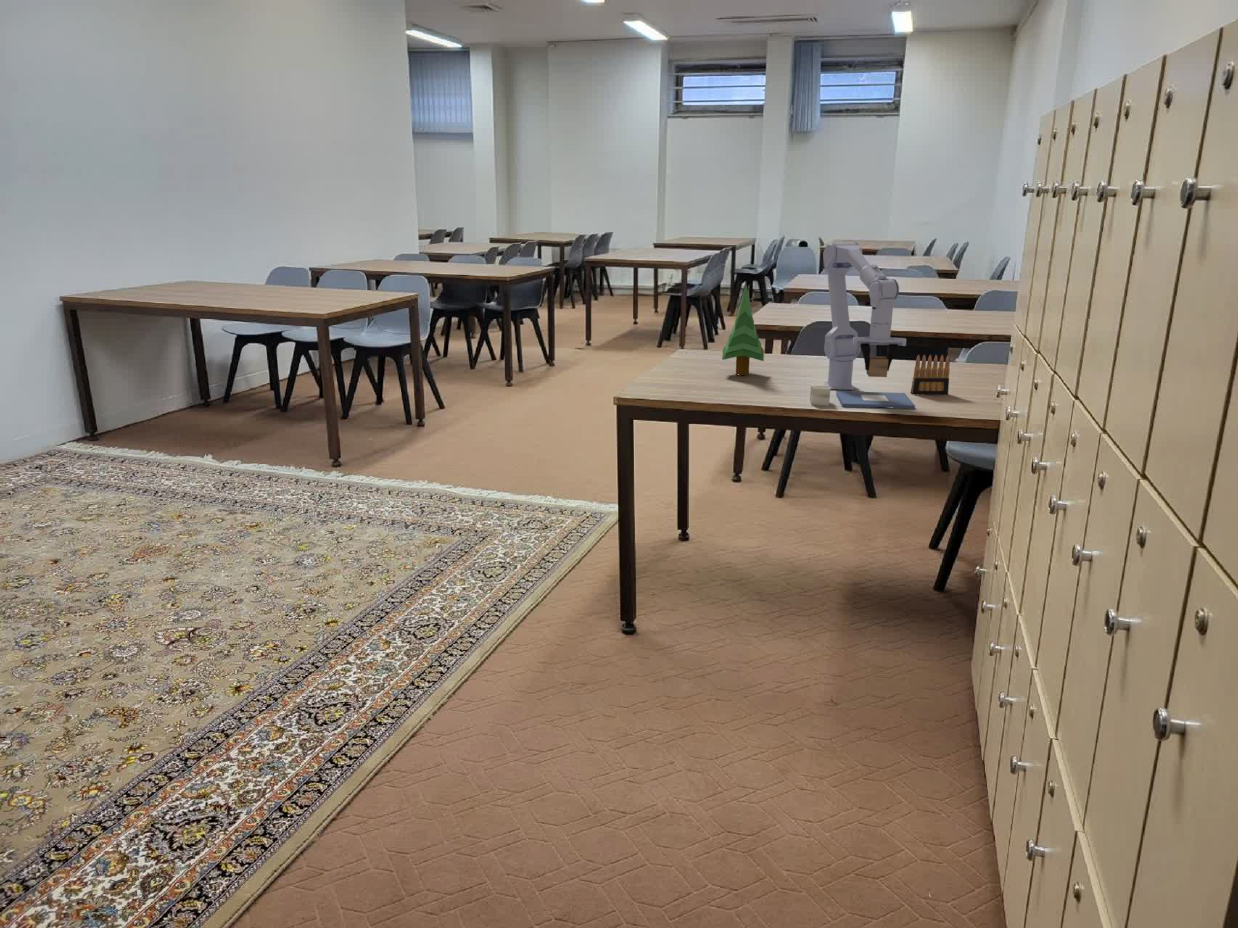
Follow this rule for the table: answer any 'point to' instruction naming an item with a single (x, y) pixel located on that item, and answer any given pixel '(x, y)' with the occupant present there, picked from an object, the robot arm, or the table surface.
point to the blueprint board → (874, 399)
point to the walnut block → (877, 366)
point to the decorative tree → (743, 338)
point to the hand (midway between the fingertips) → (876, 369)
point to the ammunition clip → (931, 377)
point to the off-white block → (820, 395)
